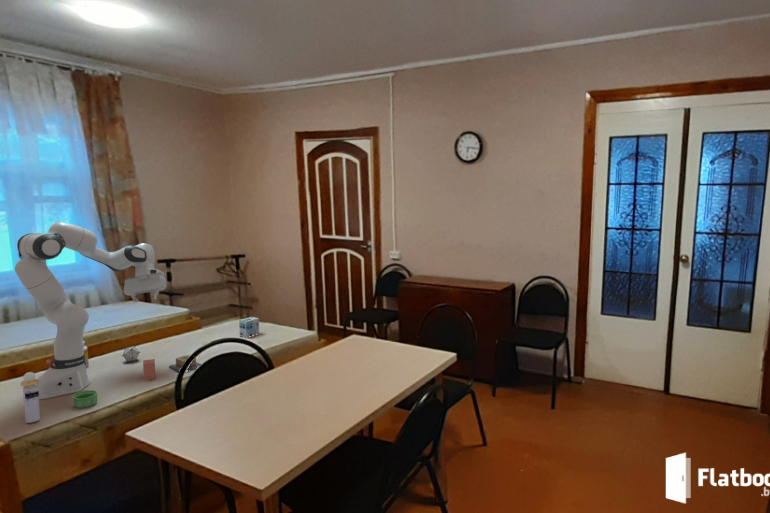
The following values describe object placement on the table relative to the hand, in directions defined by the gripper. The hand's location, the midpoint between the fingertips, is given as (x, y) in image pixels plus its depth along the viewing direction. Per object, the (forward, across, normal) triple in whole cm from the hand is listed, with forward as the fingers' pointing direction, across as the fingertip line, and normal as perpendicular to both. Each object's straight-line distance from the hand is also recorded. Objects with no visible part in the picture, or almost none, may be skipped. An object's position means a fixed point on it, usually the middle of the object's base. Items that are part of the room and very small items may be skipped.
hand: (144, 300), depth 237 cm
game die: (+24, -20, +24) cm, 39 cm away
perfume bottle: (+54, -24, -36) cm, 69 cm away
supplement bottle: (+24, -41, +15) cm, 50 cm away
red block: (+37, 0, +6) cm, 37 cm away
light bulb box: (+11, +30, +69) cm, 76 cm away
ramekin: (+49, -14, -21) cm, 55 cm away
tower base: (+33, +12, +18) cm, 40 cm away
